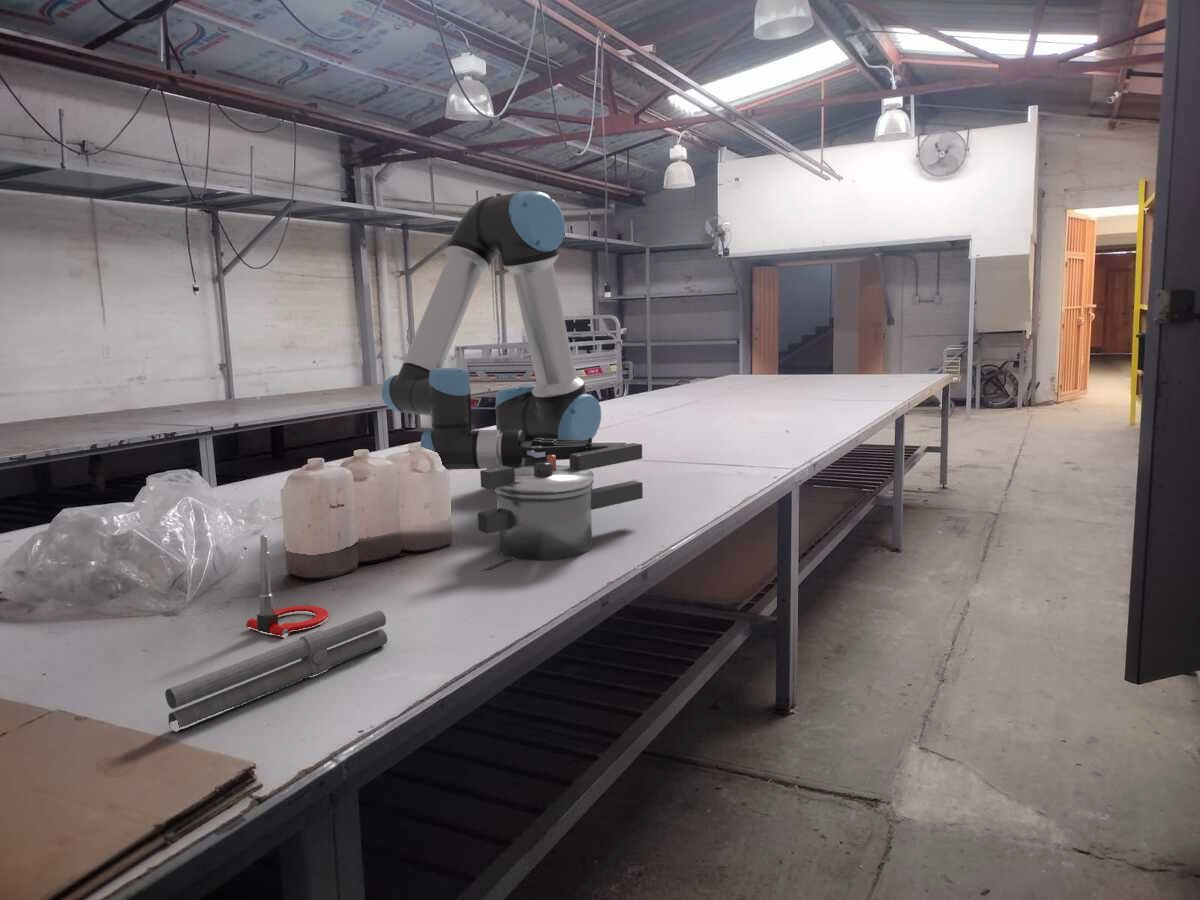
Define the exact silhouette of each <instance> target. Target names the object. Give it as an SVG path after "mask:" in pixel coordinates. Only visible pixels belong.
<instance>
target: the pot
mask: <svg viewBox="0 0 1200 900" xmlns="http://www.w3.org/2000/svg"><path fill="white" fill-rule="evenodd" d="M593 484H594V483H592V484H591V485H590V486H587V487H585V488H581V489H577V490H573V491H566V492H558V493H541V494H530V493H515V492H508V491H503V490H500V489H497V488H494V493H495V494H496V505H497V508H494V509H490V510H485V511H481V512H477V522H478V523H477V524H478V525H477V527H478V531H479V532H480V533H484V534H487V535H489V534H493V533H498V550H500V551H499V552H500V553H501V552H502V553H503V554H502V553H501V554H502V555H503V556H506V555H507V556H506V557H508V556H510V557H509V558H511V557H514V558H513V559H515V558H517V559H516V560H523V561H534V562H535V561H537V562H539V561H540V562H541V561H557V560H565V559H569V558H574V557H578V556H580V555H583V554H586V553H587V552H588V551H590V550H591V549H592V547H593V529H592V528H593V527H592V524H593V521H592V510H597V509H602V508H606V507H610V506H615V505H618V504H624V503H627V502H628V503H629V502H633V501H636V500H641V499H643V492H644V489H643V482H641V481H636V480H630V481H629V480H628V481H625V482H620V483H615V484H611V485H605V486H601V487H596V488H593Z"/></svg>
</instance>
